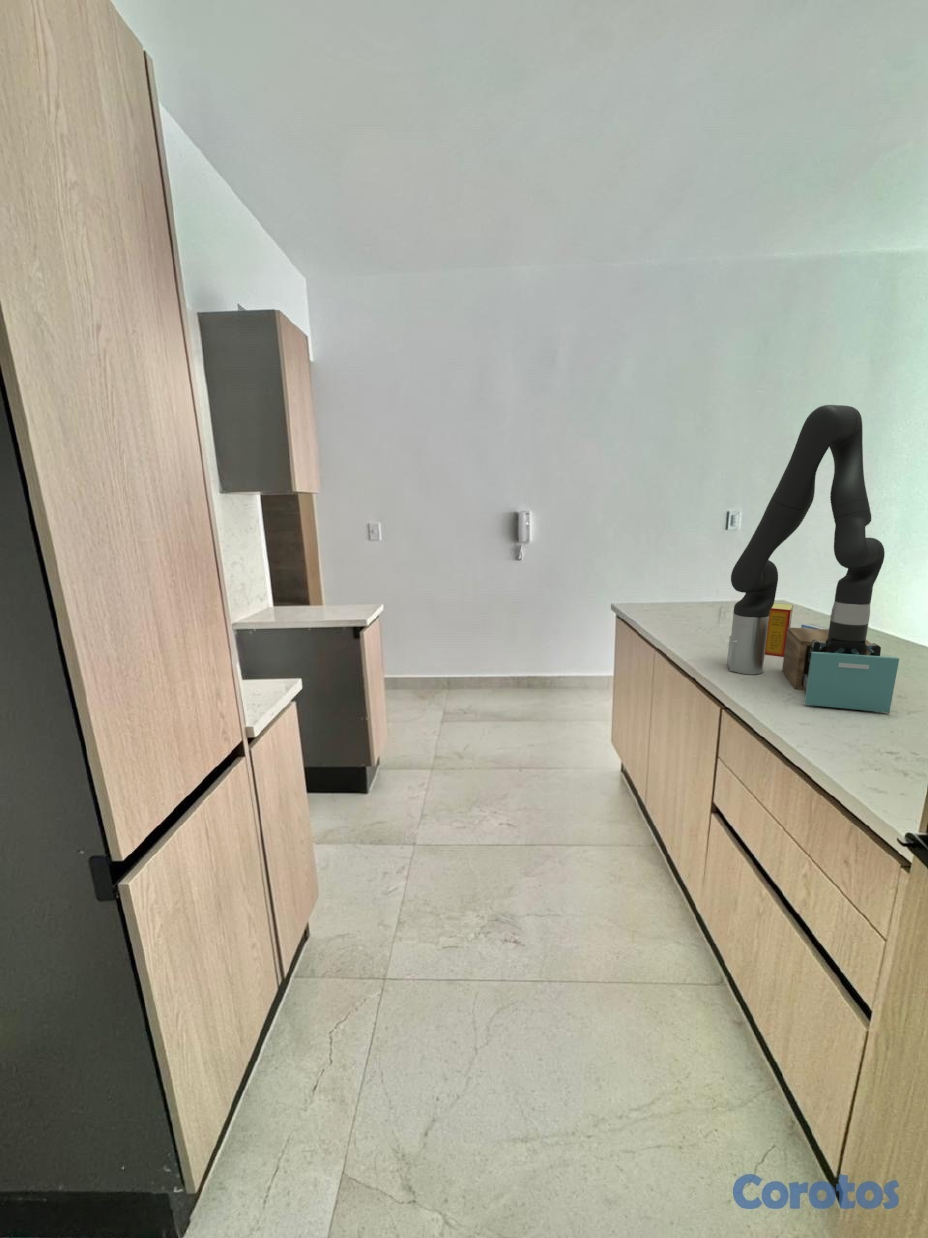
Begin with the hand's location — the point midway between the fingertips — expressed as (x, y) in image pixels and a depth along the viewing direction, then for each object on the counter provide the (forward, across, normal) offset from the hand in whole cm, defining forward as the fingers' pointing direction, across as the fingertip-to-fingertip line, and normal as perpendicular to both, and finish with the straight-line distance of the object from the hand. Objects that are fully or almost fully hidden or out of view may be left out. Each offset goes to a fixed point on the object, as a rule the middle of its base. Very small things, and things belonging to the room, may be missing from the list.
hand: (839, 682), depth 128 cm
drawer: (+4, 0, 0) cm, 4 cm away
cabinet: (+5, 0, +13) cm, 14 cm away
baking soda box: (+5, -6, +41) cm, 42 cm away
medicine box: (+5, +6, +45) cm, 46 cm away
